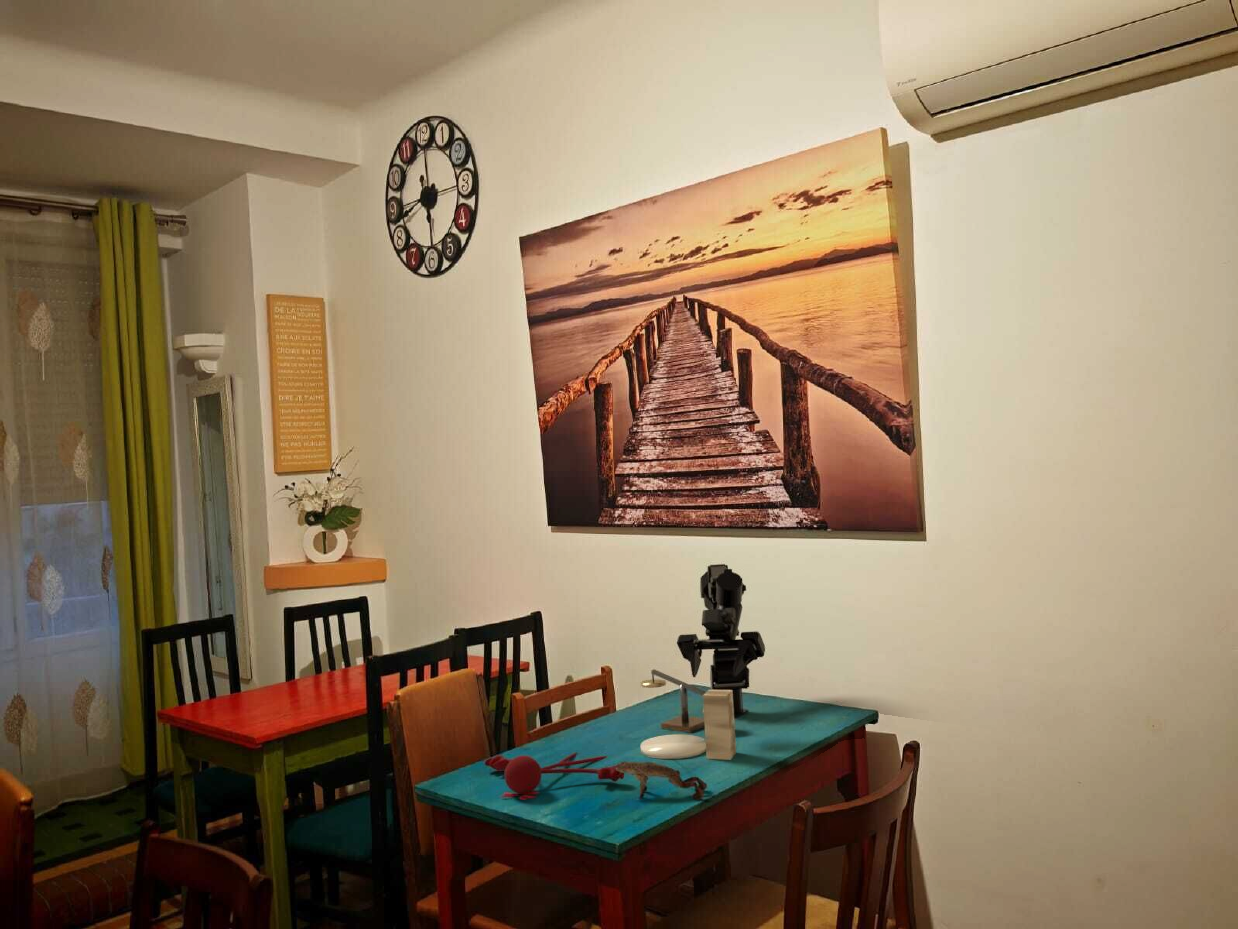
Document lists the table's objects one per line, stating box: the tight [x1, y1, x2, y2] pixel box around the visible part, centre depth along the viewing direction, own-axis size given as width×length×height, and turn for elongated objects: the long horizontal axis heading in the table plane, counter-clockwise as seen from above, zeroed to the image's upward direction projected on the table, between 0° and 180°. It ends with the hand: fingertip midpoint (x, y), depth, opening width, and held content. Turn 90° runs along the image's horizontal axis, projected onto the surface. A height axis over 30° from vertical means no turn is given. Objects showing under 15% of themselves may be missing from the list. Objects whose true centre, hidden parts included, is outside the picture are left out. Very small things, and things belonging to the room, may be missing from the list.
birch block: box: [702, 689, 737, 761], centre depth 211 cm, size 5×5×13 cm
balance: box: [640, 669, 707, 734], centre depth 235 cm, size 8×23×12 cm, turn 50°
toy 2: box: [615, 760, 708, 801], centre depth 189 cm, size 6×9×16 cm
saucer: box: [640, 734, 706, 760], centre depth 217 cm, size 14×14×1 cm
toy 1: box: [484, 752, 625, 801], centre depth 204 cm, size 32×8×30 cm
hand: (713, 675), depth 219 cm, fingers open, 9 cm apart
